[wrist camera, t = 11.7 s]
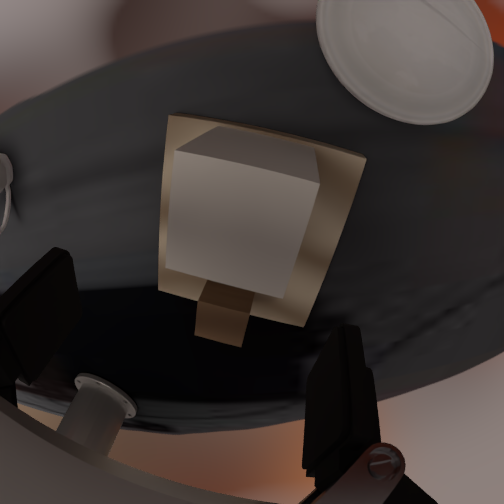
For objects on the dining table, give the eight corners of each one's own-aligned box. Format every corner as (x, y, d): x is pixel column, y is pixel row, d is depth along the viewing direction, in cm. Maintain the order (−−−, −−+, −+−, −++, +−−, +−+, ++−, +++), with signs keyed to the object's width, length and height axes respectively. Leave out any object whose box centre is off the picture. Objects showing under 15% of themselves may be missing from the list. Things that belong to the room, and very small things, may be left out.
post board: (304, 316, 29) (301, 374, 23) (164, 280, 29) (134, 329, 24) (362, 154, 20) (386, 184, 15) (176, 112, 21) (129, 127, 15)
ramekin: (449, -12, 12) (481, -27, 7) (461, 121, 18) (497, 135, 13) (303, -28, 14) (303, -57, 10) (320, 113, 20) (325, 122, 15)
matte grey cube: (290, 231, 23) (282, 298, 16) (205, 210, 23) (165, 267, 17) (314, 147, 19) (320, 183, 13) (218, 125, 20) (174, 150, 13)
